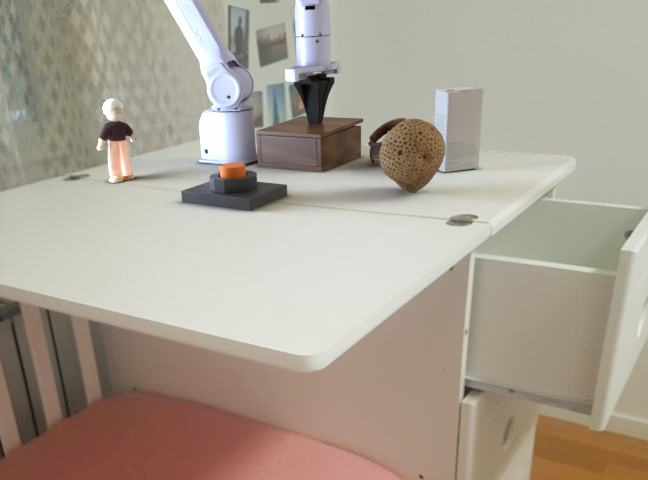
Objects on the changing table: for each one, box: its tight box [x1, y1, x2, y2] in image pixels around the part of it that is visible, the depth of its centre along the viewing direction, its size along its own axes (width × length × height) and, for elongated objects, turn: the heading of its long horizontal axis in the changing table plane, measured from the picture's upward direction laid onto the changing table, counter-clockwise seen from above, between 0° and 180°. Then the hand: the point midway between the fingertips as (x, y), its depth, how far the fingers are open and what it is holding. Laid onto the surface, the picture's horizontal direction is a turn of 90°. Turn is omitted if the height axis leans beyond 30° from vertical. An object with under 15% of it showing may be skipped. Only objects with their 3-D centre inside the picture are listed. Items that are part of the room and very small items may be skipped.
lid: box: [255, 115, 364, 138], centre depth 121 cm, size 14×13×1 cm
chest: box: [255, 125, 362, 173], centre depth 122 cm, size 14×13×5 cm
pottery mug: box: [367, 117, 408, 166], centre depth 118 cm, size 12×10×8 cm
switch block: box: [180, 169, 288, 212], centre depth 100 cm, size 12×9×4 cm
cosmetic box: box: [434, 85, 484, 173], centre depth 110 cm, size 6×4×12 cm
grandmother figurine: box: [96, 97, 138, 184], centre depth 115 cm, size 8×4×13 cm, turn 152°
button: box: [219, 162, 247, 178], centre depth 100 cm, size 4×4×2 cm
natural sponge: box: [379, 118, 445, 193], centre depth 98 cm, size 9×9×10 cm
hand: (315, 122), depth 122 cm, fingers closed
